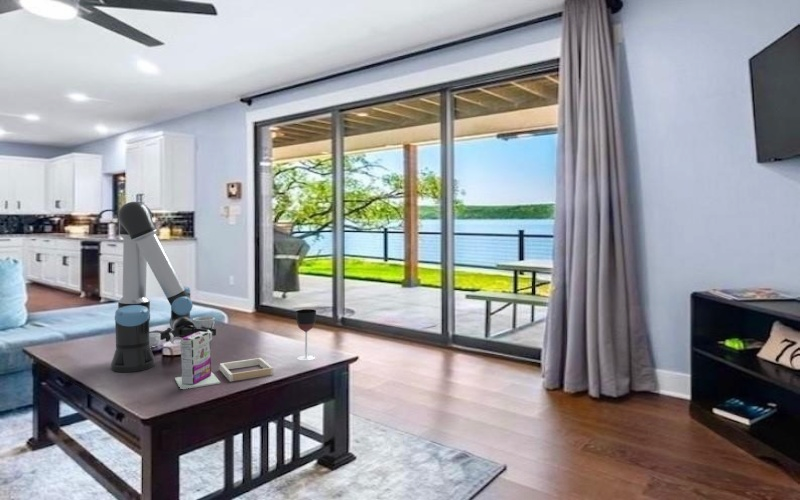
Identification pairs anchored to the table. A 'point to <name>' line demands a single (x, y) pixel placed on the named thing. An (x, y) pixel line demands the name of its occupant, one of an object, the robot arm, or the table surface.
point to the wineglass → (306, 326)
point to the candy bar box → (195, 357)
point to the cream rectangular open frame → (247, 374)
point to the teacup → (154, 339)
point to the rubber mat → (205, 382)
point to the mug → (204, 321)
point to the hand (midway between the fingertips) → (192, 338)
